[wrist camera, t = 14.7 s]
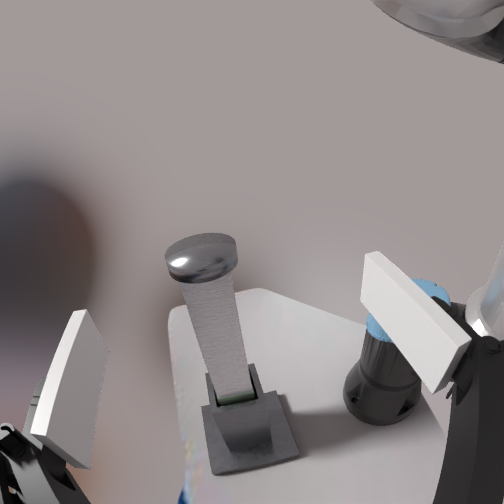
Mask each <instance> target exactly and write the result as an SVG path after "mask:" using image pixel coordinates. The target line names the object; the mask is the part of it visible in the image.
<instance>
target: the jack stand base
mask: <svg viewBox="0 0 504 504" xmlns="http://www.w3.org/2000/svg"><path fill="white" fill-rule="evenodd" d="M248 369H249V374H250V380H251V384H252V387H253V391H254V395H255V397H254V399H255V400H252V401H247V402H243V403H238V404H233V405H228V406H223V407H221V405H219V402H218V399H217V394H216V392H215V389H214V386H213V384H212V381H211V378H210V375H209V373H205V375H206V382H207V388H208V395H209V401H210V405H206V406H201V407H202V415H203V422H204V428H205V435H206V441H207V448H208V454H209V459H210V465H211V471H212V474H213V475H220V474H226V473H232V472H238V471H243V470H248V469H253V468H257V467H262V466H266V465H270V464H274V463H278V462H282V461H285V460H289V459H293V458H296V457H299V455H300V453H299V451H298V448H297V445H296V443H295V440H294V438H293V435H292V432H291V430H290V427H289V424H288V422H287V419H286V416H285V414H284V411H283V408H282V405H281V403H280V400H279V397H278V395H277V392H276V391H272V392H268V393H263V390H262V387H261V384H260V381H259V378H258V374H257V371H256V368H255V365H254V363H253V364H249V365H248Z"/></svg>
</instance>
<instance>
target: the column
mask: <svg viewBox="0 0 504 504" xmlns="http://www.w3.org/2000/svg"><path fill="white" fill-rule="evenodd" d="M165 259H166V263H167V267H168V270H169V273H170V276H171V277H172V278H173V279H175V280H176V281H178V282H180V284H181V288H182V291H183V295H184V298H185V301H186V305H187V308H188V312H189V315H190V318H191V321H192V325H193V328H194V331H195V334H196V337H197V340H198V343H199V346H200V349H201V352H202V355H203V358H204V361H205V364H206V367H207V370H208V372H209V375H210V378H211V381H212V384H213V386H214V389H215V392H216V394H217V399H218V402H219V405H221V407H223V406H228V405H233V404H238V403H243V402H247V401H252V400H255V399H254V397H255V395H254V391H253V387H252V384H251V380H250V374H249V369H248V364H247V359H246V354H245V349H244V343H243V338H242V333H241V327H240V322H239V316H238V311H237V305H236V300H235V294H234V288H233V283H232V277H231V271H232V270H233V269H234V268H235V267H236V265H237V262H238V255H237V249H236V242H235V240H234V239H233V238H232V237H231V236H228V235H226V234H221V233H204V234H198V235H194V236H190V237H187V238H184V239H182V240H180V241H178V242H176V243H175V244H173V245H172V246H171V247H169V249H168V250H167V251H166V253H165Z"/></svg>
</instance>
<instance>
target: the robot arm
mask: <svg viewBox="0 0 504 504" xmlns="http://www.w3.org/2000/svg"><path fill="white" fill-rule="evenodd" d="M371 1H372V2H373V3H374V4H375V5H376V6H378V7H379V8H380V9H381V10H382V11H383V12H384V13H386V14H387V15H389V16H390V17H391V18H393V19H395V20H396V21H398V22H400V23H401V24H403V25H404V26H406V27H408V28H410V29H412V30H414V31H416V32H418V33H420V34H422V35H425V36H427V37H429V38H431V39H433V40H435V41H438V42H440V43H443V44H445V45H447V46H450V47H453V48H456V49H458V50H460V51H463V52H466V53H469V54H472V55H475V56H477V57H480V58H484V59H488V60H491V61H496V62H498V63H502V64H504V0H371ZM360 301H361V302H362V303H363V304H364V306H365V307H366V308H367V309H368V311H369V312H370V313H369V315H368V318H367V322H366V324H367V329H366V334H365V339H364V344H363V349H362V353H361V358H360V359H359V361H358V362H357V363H356V364H355V366H354V367H353V368H352V369H351V370H350V372H349V374H348V376H347V378H346V381H345V385H344V389H343V397H344V401H345V404H346V406H347V408H348V410H349V411H350V412H351V413H352V414H353V415H354V416H355V417H356V418H358V419H359V420H361V421H363V422H365V423H368V424H372V425H390V424H394V423H397V422H399V421H401V420H403V419H404V418H406V417H407V416H408V415H409V414H410V413H411V412H412V410H413V409H414V407H415V406H416V404H417V402H418V400H419V397H420V394H421V380H422V381H423V382H424V384H425V385H426V386H427V388H428V389H429V391H430V392H431V393H432V394H434V393H436V392H438V391H439V390H441V389H443V388H444V387H446V385H447V384H448V382H449V381H451V382H455V383H454V384H453V386H452V387H451V389H450V391H449V392H448V394H447V396H446V399H448V398H449V396H450V395H451V394H452V398H451V399H452V403H451V414H450V424H449V431H448V438H447V444H446V450H445V455H444V460H443V465H442V470H441V474H440V479H439V483H438V487H437V490H436V494H435V498H434V501H433V504H502V503H503V498H504V240H503V243H502V246H501V248H500V251H499V254H498V257H497V259H496V263H495V264H494V267H493V269H492V272H491V274H490V277H489V279H488V282H487V284H486V286H483V287H480V288H479V289H477V290H476V291H474V292H473V294H472V295H471V296H470V298H469V300H468V302H467V304H466V305H464V304H459V303H453V302H450V298H449V296H448V294H447V292H446V291H445V290H444V289H443V288H442V287H437V285H436V283H433V282H431V281H427V280H423V279H410V278H409V277H408V276H406V275H405V274H404V273H403V272H402V271H401V270H400V269H399V268H397V267H396V266H395V265H394V264H393V263H392V262H391V261H389V260H388V259H387V258H386V257H385V256H384V255H382V254H381V253H380V252H379V251H376V252H372V253H368V254H365V262H364V272H363V282H362V290H361V298H360ZM109 352H110V351H109V350H108V348H107V346H106V344H105V343H104V341H103V339H102V337H101V336H100V334H99V332H98V330H97V329H96V327H95V325H94V323H93V321H92V319H91V317H90V315H89V313H88V311H87V310H79V311H74V312H73V314H72V316H71V318H70V320H69V323H68V325H67V327H66V329H65V332H64V334H63V337H62V339H61V341H60V344H59V346H58V349H57V351H56V354H55V356H54V359H53V361H52V364H51V367H50V370H49V372H48V375H47V377H43V378H42V379H41V381H40V382H39V383H38V385H37V386H36V389H35V392H34V395H33V397H34V398H32V401H31V406H30V407H29V411H28V414H27V418H26V421H25V425H24V428H23V432H22V434H21V433H20V432H19V431H17V429H15V428H14V427H13V426H12V425H11V424H9V423H3V424H1V425H0V504H91V503H90V502H89V500H88V499H87V497H86V496H85V495H84V493H83V492H82V490H81V489H80V487H79V486H78V484H77V483H76V481H75V479H74V478H73V476H72V475H71V473H70V472H69V471H68V469H67V468H66V462H67V463H69V464H70V465H72V466H73V467H74V468H80V469H88V470H90V469H91V458H92V448H93V440H94V433H95V425H96V419H97V412H98V406H99V400H100V395H101V390H102V384H103V379H104V375H105V370H106V365H107V361H108V356H109ZM8 486H10V487H11V488H13V494H12V493H10V492H9V488H8Z"/></svg>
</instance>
